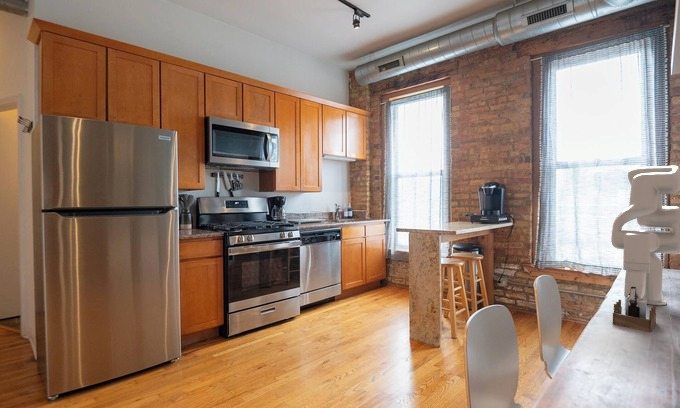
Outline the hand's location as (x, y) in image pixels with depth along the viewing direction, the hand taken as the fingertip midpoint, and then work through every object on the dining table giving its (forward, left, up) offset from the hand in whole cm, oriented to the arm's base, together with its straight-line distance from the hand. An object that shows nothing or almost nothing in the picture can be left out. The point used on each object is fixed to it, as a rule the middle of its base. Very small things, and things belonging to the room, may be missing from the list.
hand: (635, 314), depth 131 cm
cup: (0, 0, -1) cm, 1 cm away
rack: (+2, 0, -3) cm, 4 cm away
